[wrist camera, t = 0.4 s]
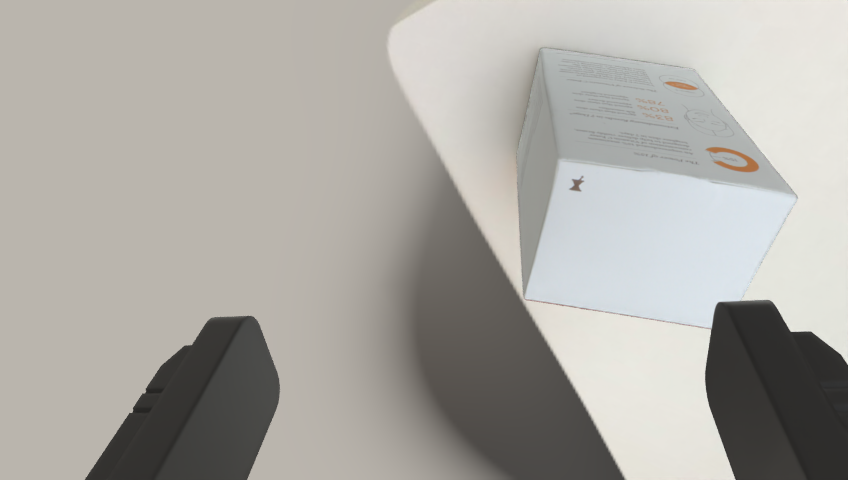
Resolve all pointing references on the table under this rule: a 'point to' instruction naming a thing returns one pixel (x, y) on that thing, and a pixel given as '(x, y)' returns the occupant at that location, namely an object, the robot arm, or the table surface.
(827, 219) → the table surface
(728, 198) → the small box
